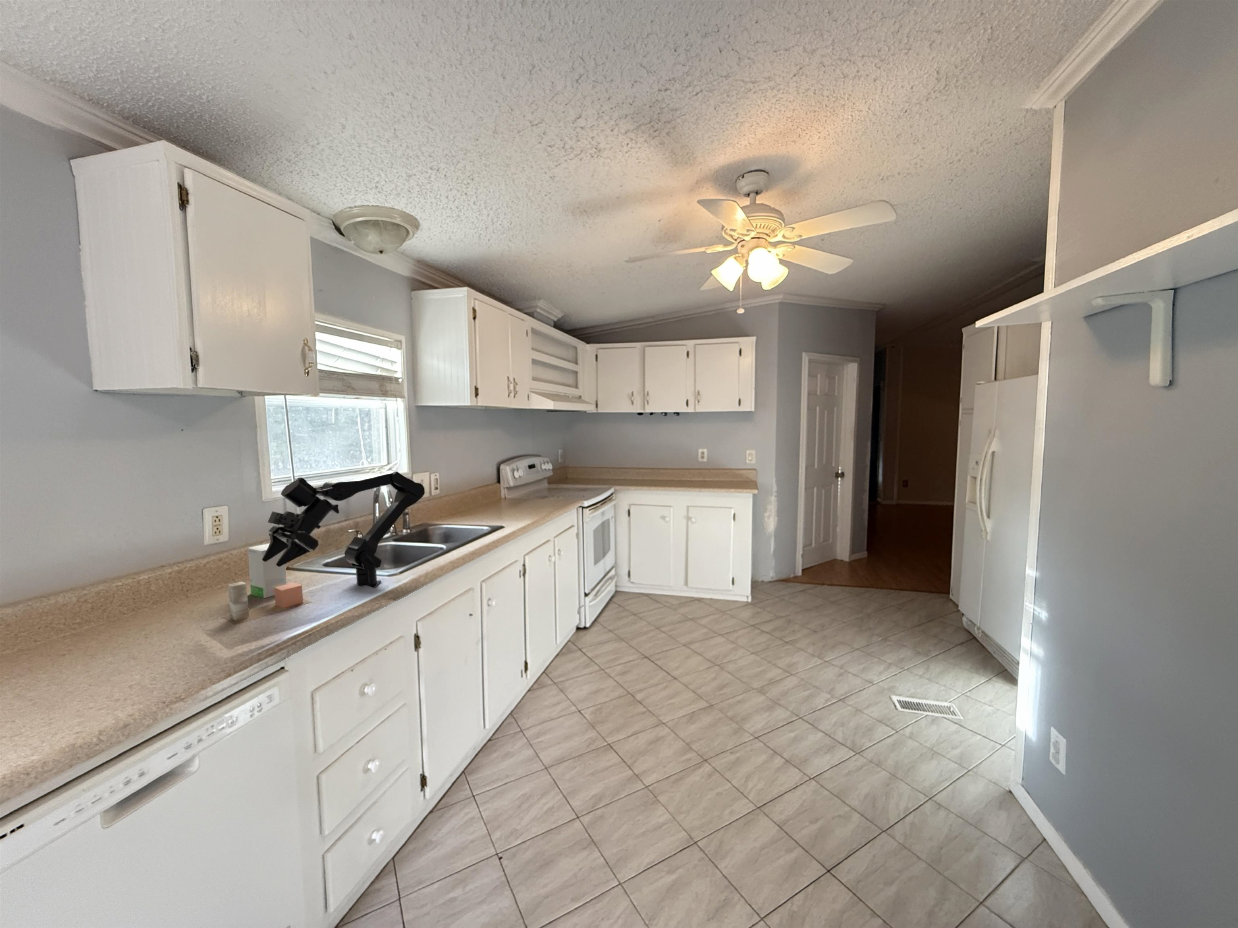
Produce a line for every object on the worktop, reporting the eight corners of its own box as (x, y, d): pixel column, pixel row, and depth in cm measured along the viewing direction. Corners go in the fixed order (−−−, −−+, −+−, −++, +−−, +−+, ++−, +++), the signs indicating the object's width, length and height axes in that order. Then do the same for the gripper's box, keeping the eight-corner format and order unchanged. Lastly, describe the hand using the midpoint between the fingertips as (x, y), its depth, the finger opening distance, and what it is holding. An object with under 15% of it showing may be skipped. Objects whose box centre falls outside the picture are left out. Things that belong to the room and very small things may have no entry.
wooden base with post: (298, 600, 143) (295, 566, 142) (312, 606, 138) (309, 570, 137) (222, 621, 128) (219, 583, 128) (235, 629, 123) (231, 589, 122)
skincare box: (250, 598, 146) (245, 547, 145) (274, 591, 152) (270, 542, 151) (265, 602, 142) (260, 550, 141) (289, 595, 148) (285, 545, 147)
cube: (295, 599, 141) (293, 582, 140) (303, 602, 138) (301, 585, 137) (275, 604, 137) (274, 587, 136) (283, 608, 134) (281, 590, 133)
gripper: (274, 497, 142) (230, 542, 133) (303, 502, 131) (257, 551, 123) (305, 520, 149) (266, 564, 140) (335, 526, 138) (294, 574, 130)
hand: (270, 563), depth 133 cm, fingers open, 9 cm apart
